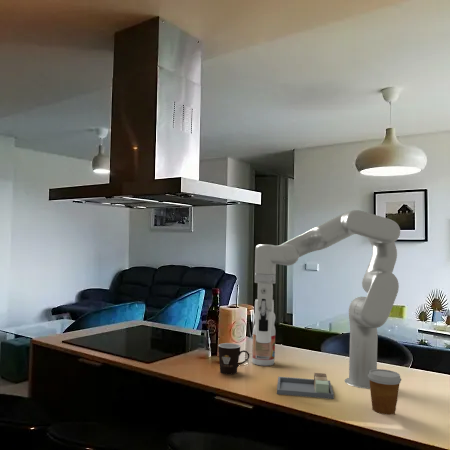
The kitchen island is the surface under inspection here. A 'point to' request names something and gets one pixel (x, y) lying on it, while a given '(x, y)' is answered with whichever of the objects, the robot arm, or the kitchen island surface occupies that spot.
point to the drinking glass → (266, 335)
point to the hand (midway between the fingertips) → (263, 328)
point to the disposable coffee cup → (384, 390)
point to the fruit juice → (263, 348)
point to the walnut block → (318, 376)
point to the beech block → (320, 378)
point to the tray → (301, 388)
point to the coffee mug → (229, 357)
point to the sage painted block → (322, 386)
